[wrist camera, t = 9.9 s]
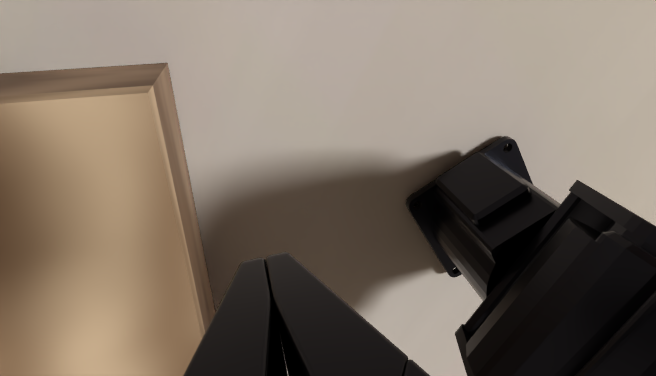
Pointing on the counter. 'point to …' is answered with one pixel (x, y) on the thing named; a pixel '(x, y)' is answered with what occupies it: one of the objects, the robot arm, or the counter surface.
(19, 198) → the cart bed
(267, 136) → the counter surface
